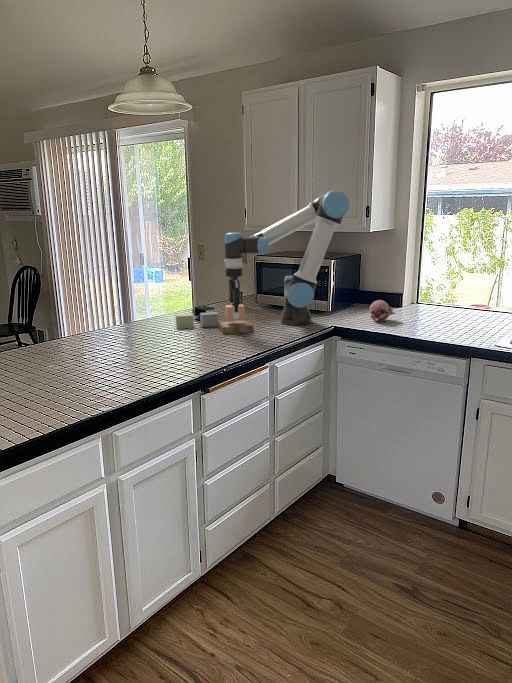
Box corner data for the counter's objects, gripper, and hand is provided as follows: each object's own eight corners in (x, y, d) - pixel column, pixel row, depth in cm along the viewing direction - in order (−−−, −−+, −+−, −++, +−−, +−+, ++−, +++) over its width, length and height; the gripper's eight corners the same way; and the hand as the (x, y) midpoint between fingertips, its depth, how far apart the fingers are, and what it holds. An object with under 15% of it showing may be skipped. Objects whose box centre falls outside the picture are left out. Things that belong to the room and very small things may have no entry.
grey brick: (216, 323, 258) (216, 311, 256) (218, 326, 253) (218, 313, 252) (200, 324, 256) (200, 312, 255) (202, 327, 251) (201, 314, 250)
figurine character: (191, 321, 271) (204, 323, 258) (190, 306, 270) (203, 307, 257) (203, 319, 275) (216, 321, 262) (202, 305, 274) (215, 306, 261)
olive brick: (192, 325, 255) (191, 313, 254) (193, 327, 251) (193, 315, 249) (176, 326, 253) (175, 314, 252) (177, 328, 249) (176, 316, 247)
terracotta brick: (242, 317, 246) (242, 304, 244) (244, 319, 241) (244, 306, 240) (225, 318, 244) (225, 305, 242) (227, 320, 239) (227, 307, 238)
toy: (398, 322, 247) (396, 314, 261) (392, 301, 244) (390, 294, 258) (373, 329, 250) (372, 321, 264) (367, 308, 248) (366, 301, 262)
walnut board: (247, 326, 251) (247, 320, 250) (253, 331, 240) (252, 325, 239) (218, 328, 248) (218, 322, 247) (223, 333, 237) (222, 327, 236)
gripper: (222, 265, 244) (223, 314, 250) (229, 270, 227) (230, 322, 233) (237, 265, 246) (238, 313, 252) (246, 269, 229) (247, 321, 235)
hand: (234, 317), depth 242 cm, fingers closed on terracotta brick, 5 cm apart
